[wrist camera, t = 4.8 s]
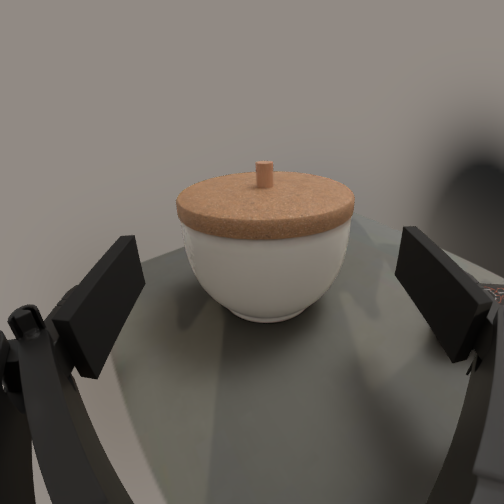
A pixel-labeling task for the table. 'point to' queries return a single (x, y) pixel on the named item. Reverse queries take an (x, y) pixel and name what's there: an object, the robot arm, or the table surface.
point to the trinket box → (266, 239)
